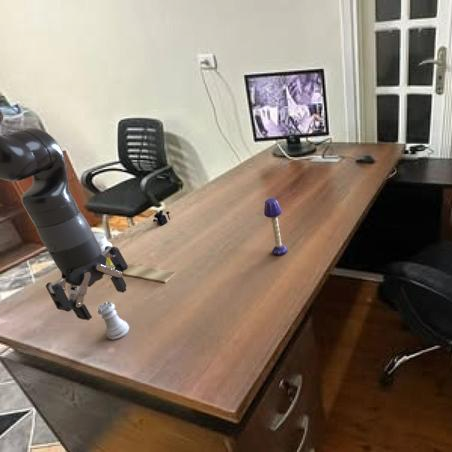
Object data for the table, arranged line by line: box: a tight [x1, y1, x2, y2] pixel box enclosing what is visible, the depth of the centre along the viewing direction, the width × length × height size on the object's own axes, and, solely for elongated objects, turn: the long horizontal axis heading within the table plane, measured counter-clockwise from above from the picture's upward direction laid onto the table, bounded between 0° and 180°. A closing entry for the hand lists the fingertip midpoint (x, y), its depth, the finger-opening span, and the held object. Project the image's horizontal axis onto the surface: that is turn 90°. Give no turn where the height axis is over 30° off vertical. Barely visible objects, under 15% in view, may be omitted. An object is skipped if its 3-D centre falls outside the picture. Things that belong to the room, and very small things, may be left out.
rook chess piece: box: [97, 301, 130, 340], centre depth 75 cm, size 4×4×8 cm
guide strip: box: [122, 263, 177, 284], centre depth 97 cm, size 18×4×1 cm, turn 70°
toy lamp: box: [263, 198, 288, 257], centre depth 96 cm, size 5×5×17 cm
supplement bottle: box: [95, 235, 115, 269], centre depth 99 cm, size 5×5×10 cm
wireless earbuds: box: [152, 209, 171, 227], centre depth 122 cm, size 7×2×5 cm, turn 156°
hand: (105, 304), depth 73 cm, fingers open, 8 cm apart
